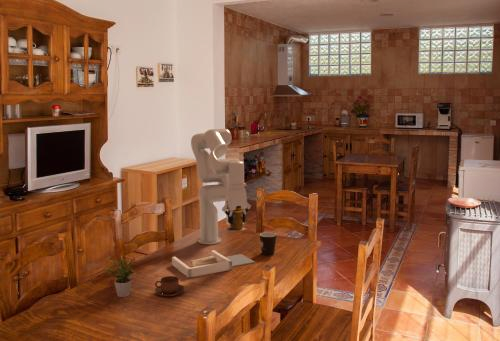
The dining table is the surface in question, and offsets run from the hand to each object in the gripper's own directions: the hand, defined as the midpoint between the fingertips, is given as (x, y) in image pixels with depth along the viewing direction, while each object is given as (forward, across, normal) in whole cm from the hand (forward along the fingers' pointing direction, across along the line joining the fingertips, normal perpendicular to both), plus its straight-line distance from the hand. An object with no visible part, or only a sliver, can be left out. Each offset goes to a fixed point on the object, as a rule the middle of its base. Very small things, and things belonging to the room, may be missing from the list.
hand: (236, 222), depth 263 cm
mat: (+19, 0, 0) cm, 19 cm away
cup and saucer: (+20, +43, +23) cm, 53 cm away
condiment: (+3, +1, 0) cm, 3 cm away
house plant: (+19, +60, +14) cm, 65 cm away
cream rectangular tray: (+19, +19, 0) cm, 27 cm away
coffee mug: (+20, -20, -4) cm, 28 cm away
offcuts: (+20, +19, +4) cm, 28 cm away
